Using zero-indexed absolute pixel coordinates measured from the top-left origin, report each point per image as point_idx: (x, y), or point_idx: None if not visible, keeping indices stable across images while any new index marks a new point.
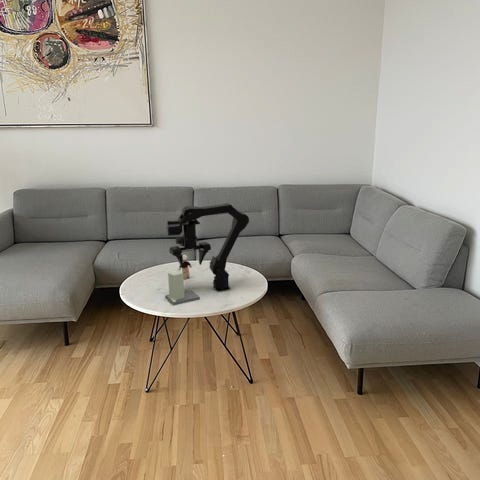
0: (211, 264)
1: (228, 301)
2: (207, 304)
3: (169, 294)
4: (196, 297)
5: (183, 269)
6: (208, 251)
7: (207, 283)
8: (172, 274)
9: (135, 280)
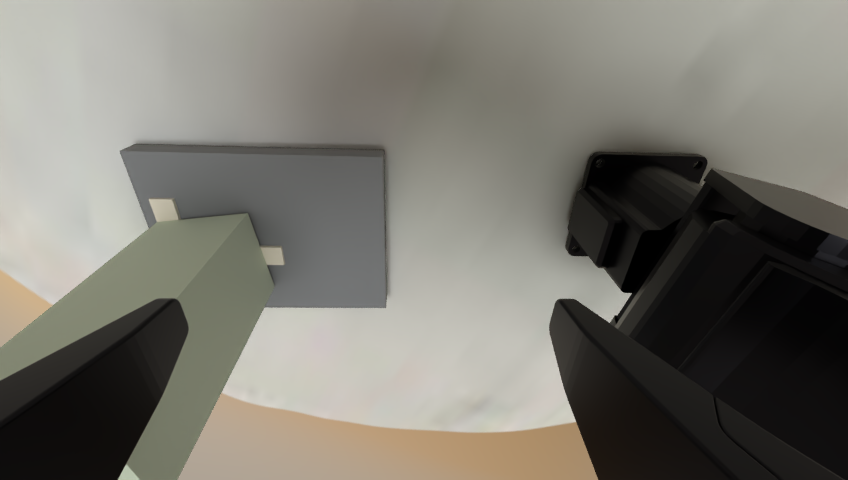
0: (704, 372)
1: (516, 381)
2: (397, 366)
3: (142, 238)
4: (361, 306)
5: None
6: None
7: (627, 15)
8: None
9: None
